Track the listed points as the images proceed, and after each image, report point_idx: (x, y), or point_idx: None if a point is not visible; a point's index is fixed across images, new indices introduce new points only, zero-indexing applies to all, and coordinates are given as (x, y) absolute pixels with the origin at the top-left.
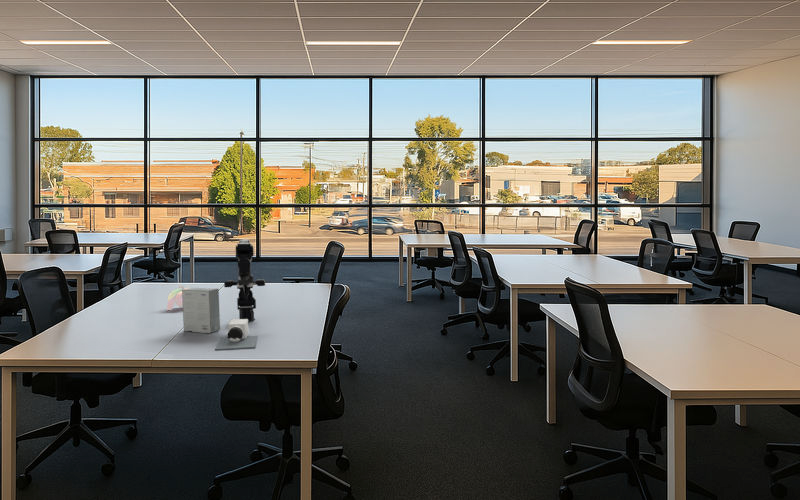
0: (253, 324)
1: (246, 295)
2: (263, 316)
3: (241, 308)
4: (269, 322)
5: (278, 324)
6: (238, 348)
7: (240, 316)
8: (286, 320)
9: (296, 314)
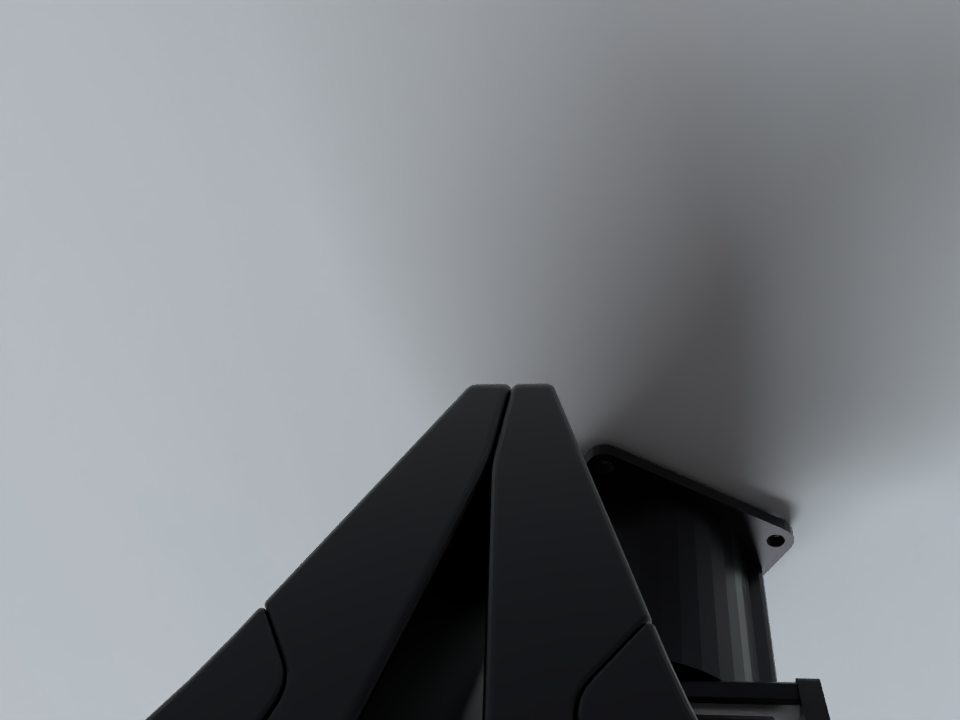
0: (474, 263)
1: (378, 565)
2: None
3: (734, 694)
4: (229, 365)
5: (12, 192)
6: None
7: (748, 602)
8: (17, 445)
9: (47, 704)
